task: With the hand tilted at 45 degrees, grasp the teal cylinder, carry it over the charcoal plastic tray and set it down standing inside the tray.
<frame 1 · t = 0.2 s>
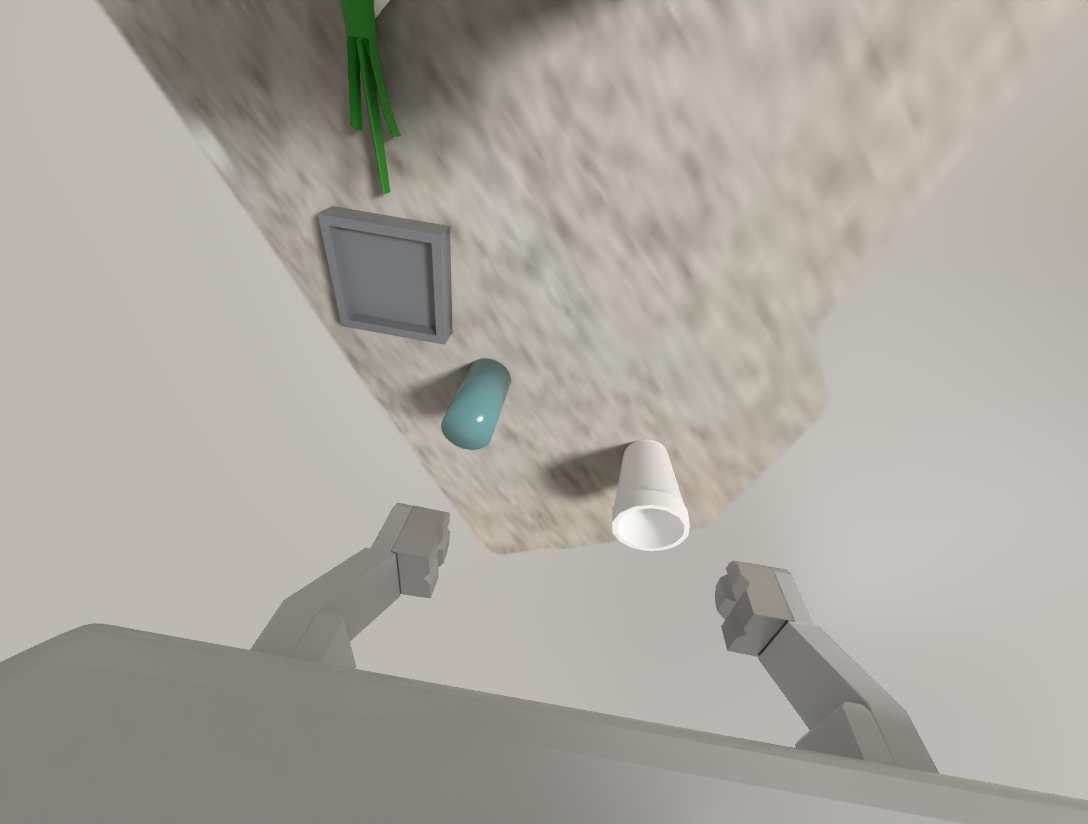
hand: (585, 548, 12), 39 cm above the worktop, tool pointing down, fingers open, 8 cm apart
foam cup: (645, 454, 63), on the worktop
tray: (397, 274, 50), on the worktop
teal cylinder: (489, 377, 57), on the worktop
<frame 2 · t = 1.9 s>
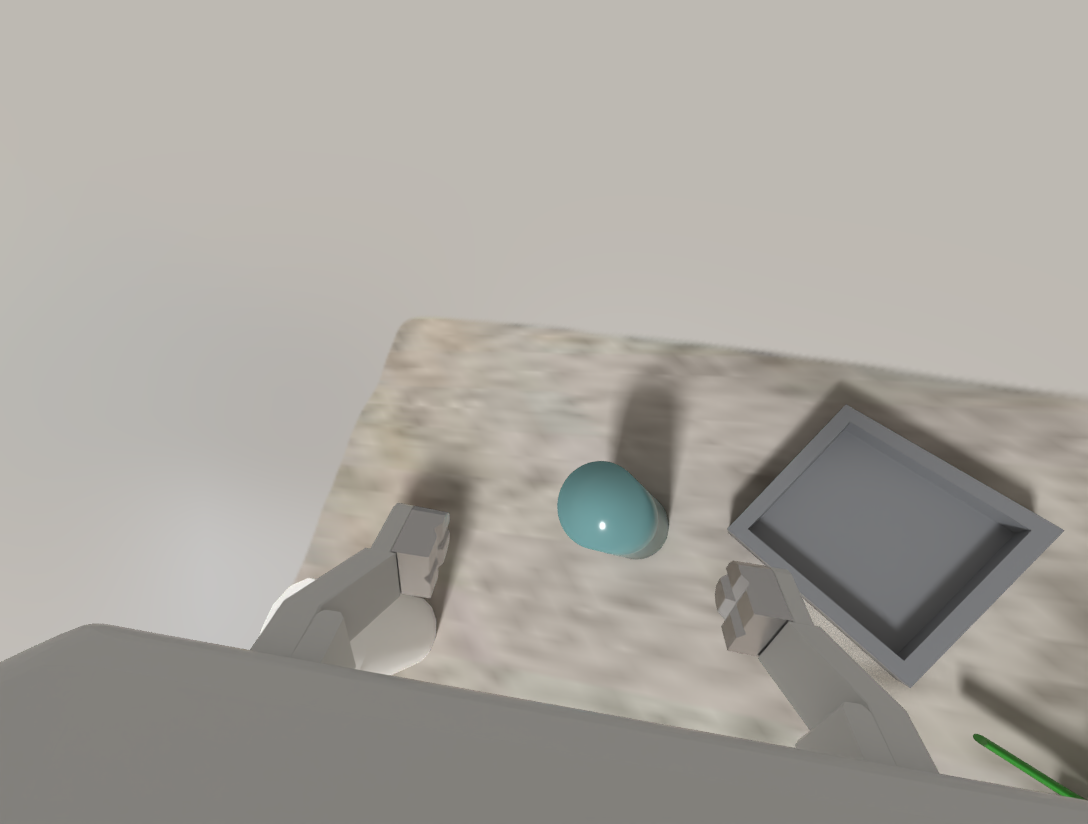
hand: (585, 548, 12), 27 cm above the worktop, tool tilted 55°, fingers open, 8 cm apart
foam cup: (412, 629, 44), on the worktop
tray: (864, 534, 31), on the worktop
teal cylinder: (634, 524, 38), on the worktop
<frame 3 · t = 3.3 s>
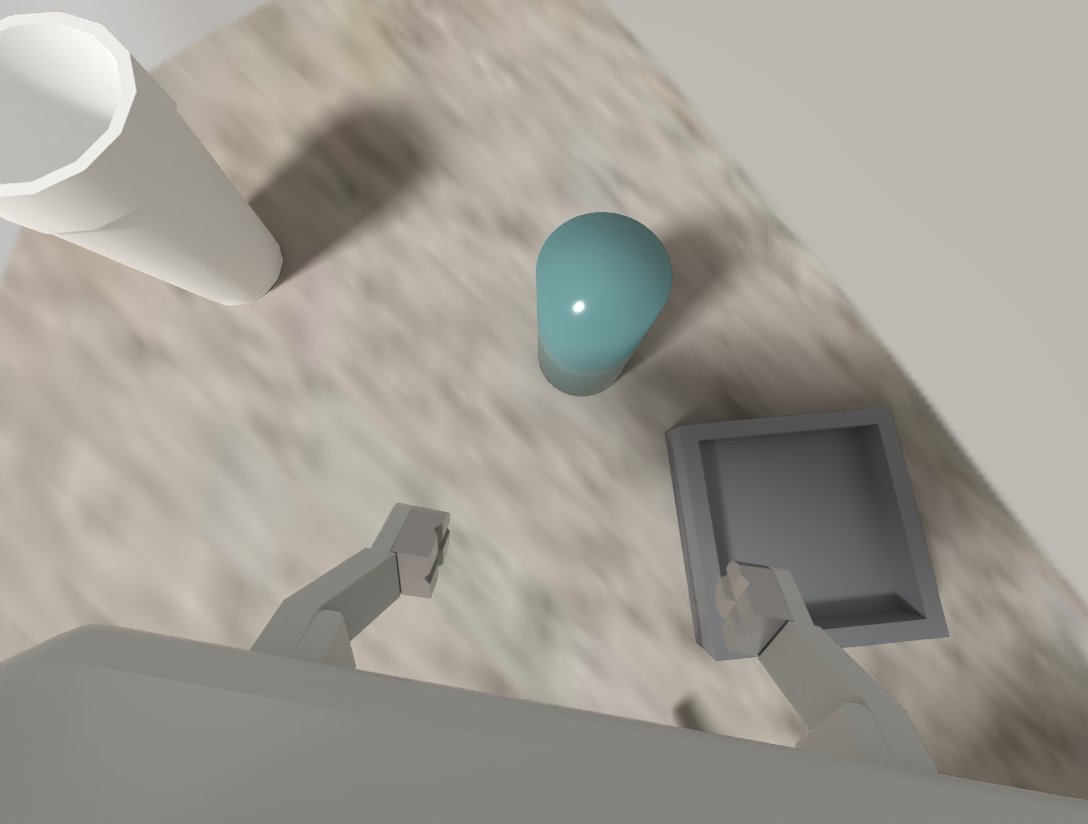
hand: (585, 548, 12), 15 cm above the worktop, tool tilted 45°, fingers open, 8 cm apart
foam cup: (240, 266, 31), on the worktop
tray: (779, 522, 27), on the worktop
teal cylinder: (581, 354, 29), on the worktop
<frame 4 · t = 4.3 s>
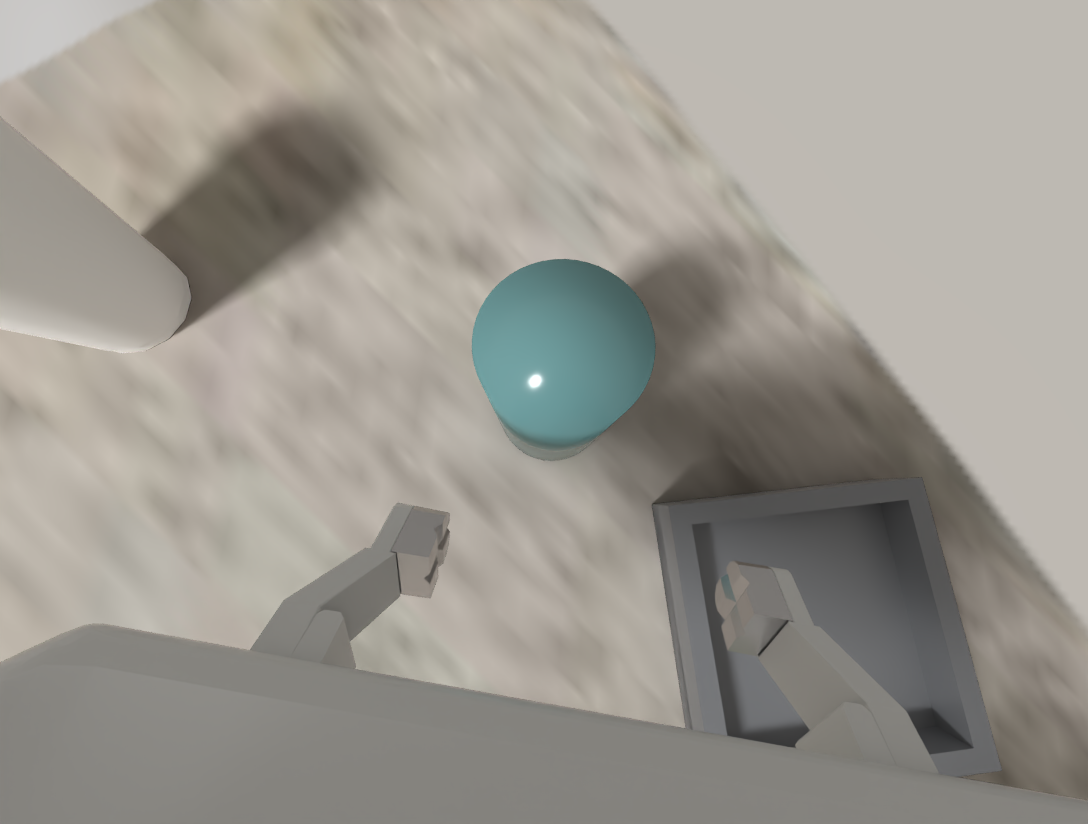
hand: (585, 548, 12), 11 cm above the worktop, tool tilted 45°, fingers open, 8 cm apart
foam cup: (140, 304, 25), on the worktop
tray: (789, 613, 23), on the worktop
teal cylinder: (551, 409, 25), on the worktop
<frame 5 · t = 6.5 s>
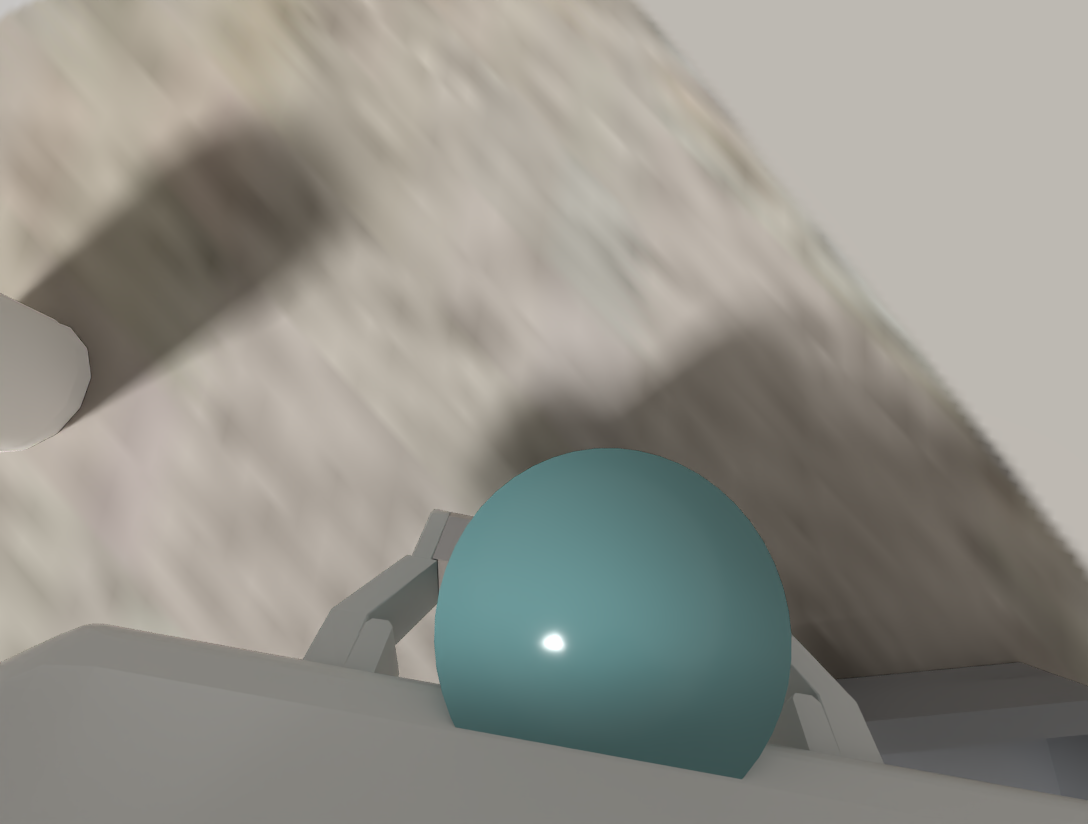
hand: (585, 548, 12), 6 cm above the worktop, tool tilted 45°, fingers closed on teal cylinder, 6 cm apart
foam cup: (23, 384, 19), on the worktop
teal cylinder: (568, 545, 18), on the worktop, touching gripper
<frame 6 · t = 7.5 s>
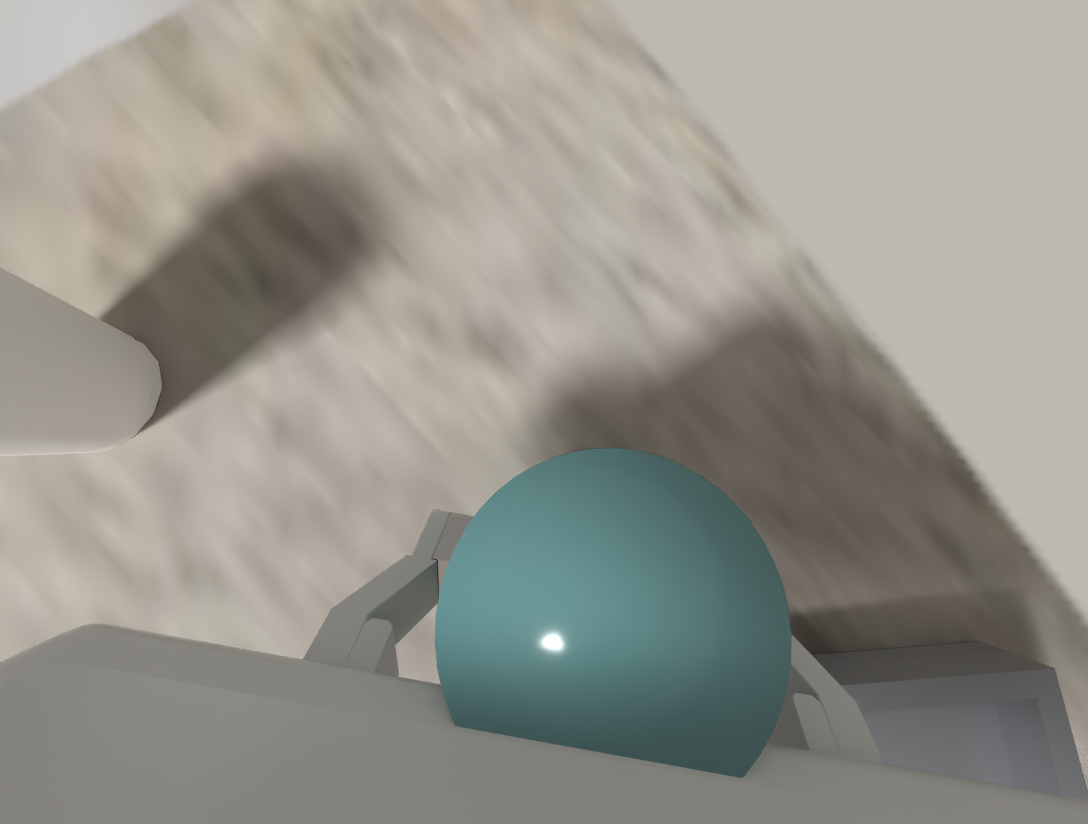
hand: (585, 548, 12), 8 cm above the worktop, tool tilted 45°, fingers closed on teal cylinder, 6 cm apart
foam cup: (104, 392, 22), on the worktop
tray: (868, 815, 18), on the worktop
teal cylinder: (568, 545, 18), point 3 cm above the worktop, touching gripper
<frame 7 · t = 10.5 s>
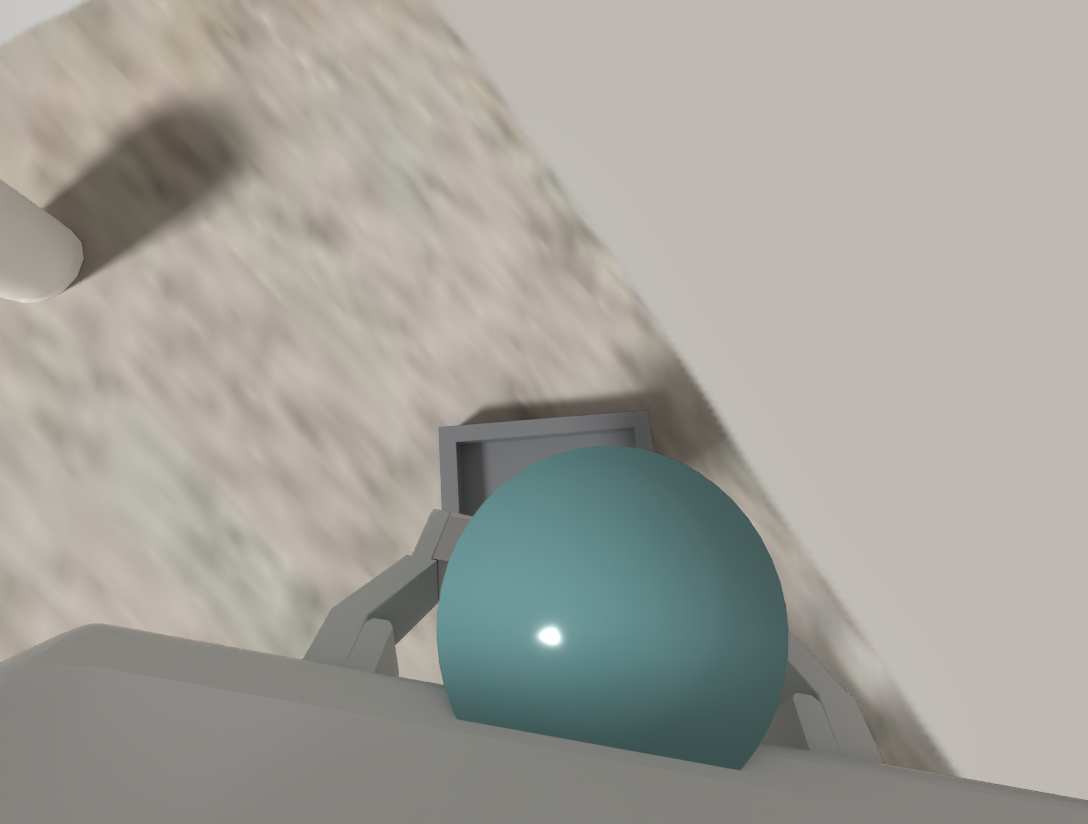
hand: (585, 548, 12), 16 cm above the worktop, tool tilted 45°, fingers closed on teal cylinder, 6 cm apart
foam cup: (41, 263, 31), on the worktop
tray: (551, 523, 28), on the worktop
teal cylinder: (568, 544, 18), point 10 cm above the worktop, touching gripper
when the fingers open (9 cm above the worktop, at t = 12.6 s): teal cylinder drops 1 cm, resting on tray.
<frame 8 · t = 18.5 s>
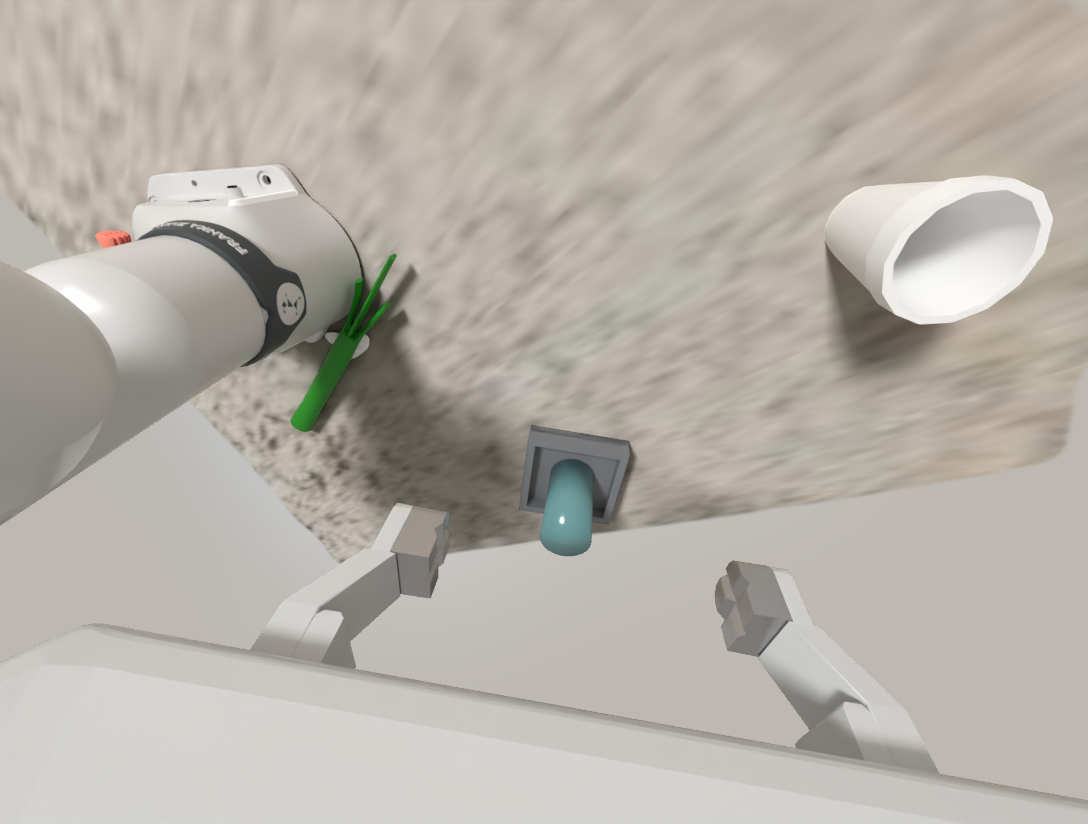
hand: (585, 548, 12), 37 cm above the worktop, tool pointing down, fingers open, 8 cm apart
foam cup: (861, 223, 39), on the worktop
green onion: (346, 344, 53), on the worktop
tray: (571, 469, 59), on the worktop
teal cylinder: (572, 475, 58), point 1 cm above the worktop, touching tray
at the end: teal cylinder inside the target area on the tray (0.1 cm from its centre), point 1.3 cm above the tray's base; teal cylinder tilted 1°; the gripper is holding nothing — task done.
